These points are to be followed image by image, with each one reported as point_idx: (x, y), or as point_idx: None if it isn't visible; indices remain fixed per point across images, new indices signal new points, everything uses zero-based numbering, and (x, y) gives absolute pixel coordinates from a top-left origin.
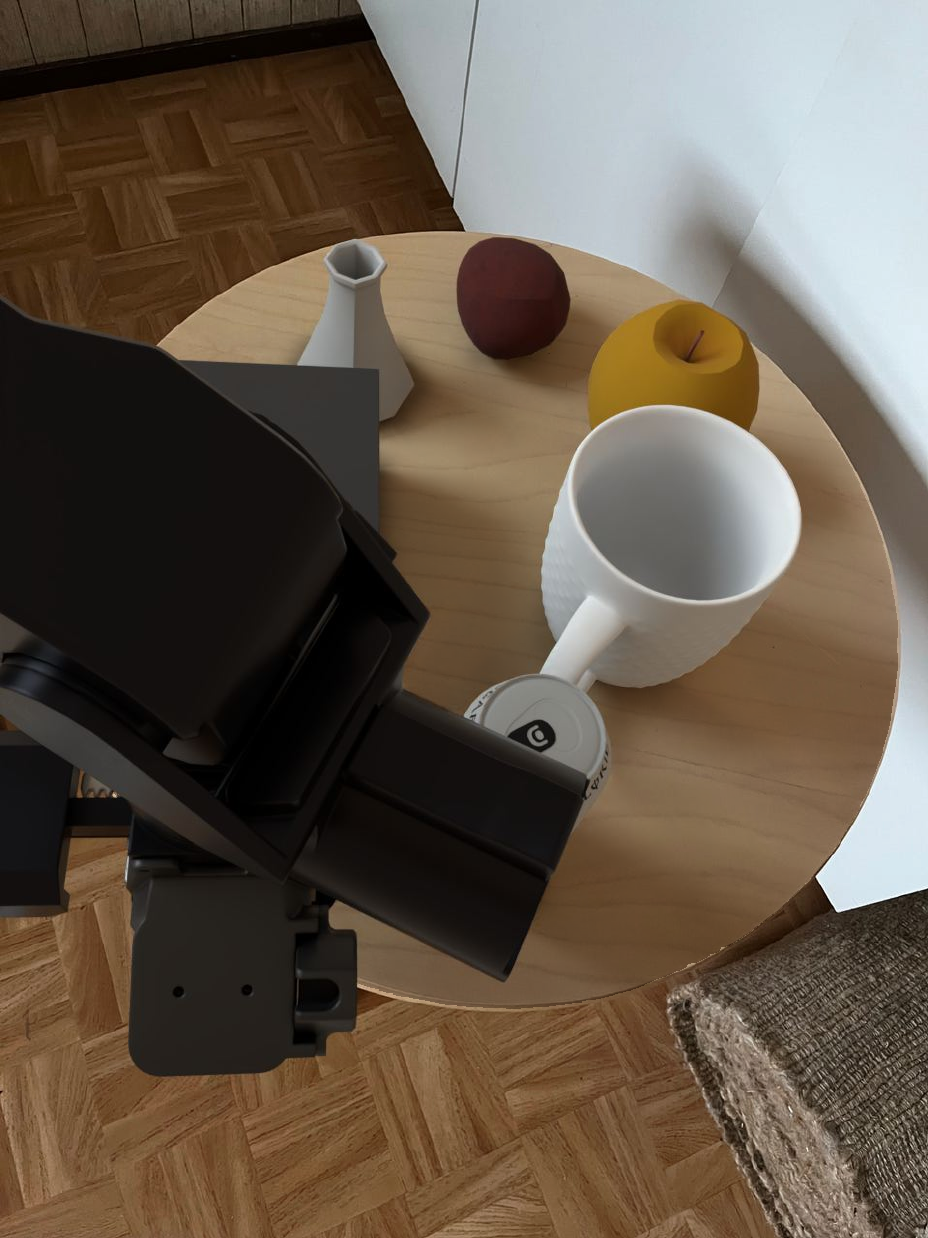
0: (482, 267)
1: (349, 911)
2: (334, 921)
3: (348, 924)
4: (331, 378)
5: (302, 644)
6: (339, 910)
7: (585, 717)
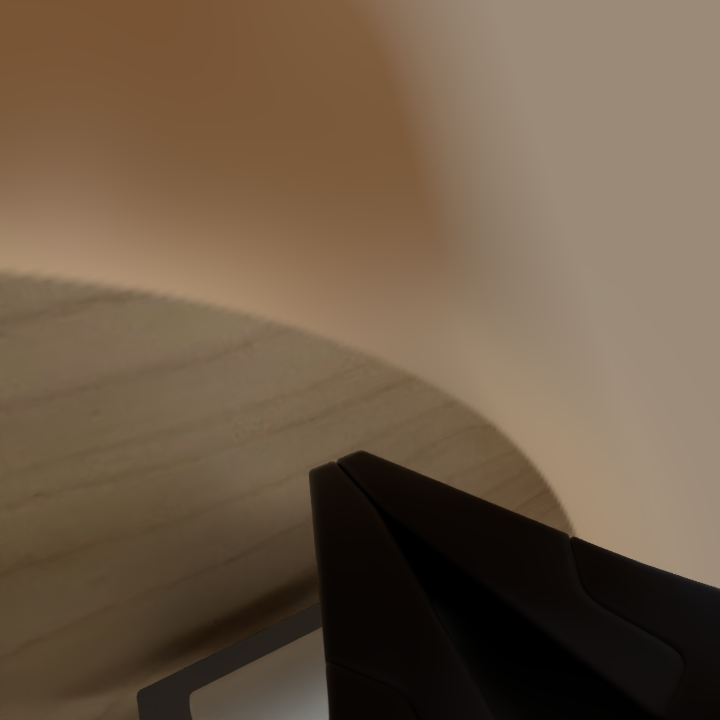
0: None
1: (26, 396)
2: (56, 364)
3: (15, 369)
4: None
5: None
6: (54, 390)
7: None
